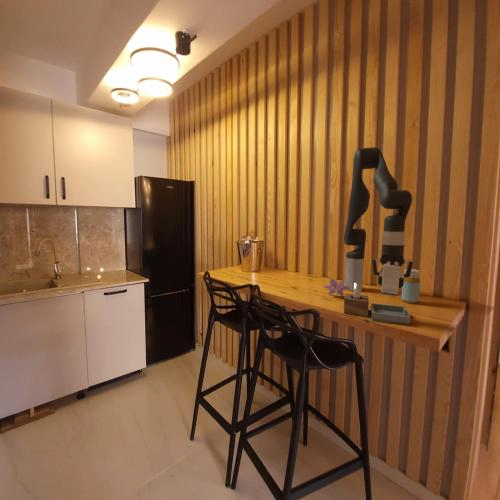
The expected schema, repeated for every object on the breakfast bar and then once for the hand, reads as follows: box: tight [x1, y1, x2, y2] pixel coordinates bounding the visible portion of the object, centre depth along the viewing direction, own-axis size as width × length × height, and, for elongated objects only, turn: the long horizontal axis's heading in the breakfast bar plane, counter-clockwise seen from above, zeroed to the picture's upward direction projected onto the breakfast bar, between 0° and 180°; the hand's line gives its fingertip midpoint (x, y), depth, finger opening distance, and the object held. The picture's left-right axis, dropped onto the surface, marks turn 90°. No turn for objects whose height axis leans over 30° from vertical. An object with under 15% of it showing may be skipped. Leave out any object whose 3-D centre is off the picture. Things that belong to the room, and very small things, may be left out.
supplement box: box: [380, 264, 401, 297], centre depth 106 cm, size 6×6×12 cm
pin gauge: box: [352, 282, 362, 299], centre depth 113 cm, size 3×3×12 cm
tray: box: [370, 302, 411, 326], centre depth 107 cm, size 14×13×3 cm
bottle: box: [400, 268, 421, 305], centre depth 127 cm, size 7×7×15 cm
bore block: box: [343, 293, 370, 317], centre depth 113 cm, size 9×9×6 cm
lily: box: [323, 277, 352, 297], centre depth 134 cm, size 12×12×10 cm
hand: (390, 286), depth 106 cm, fingers closed on supplement box, 6 cm apart
